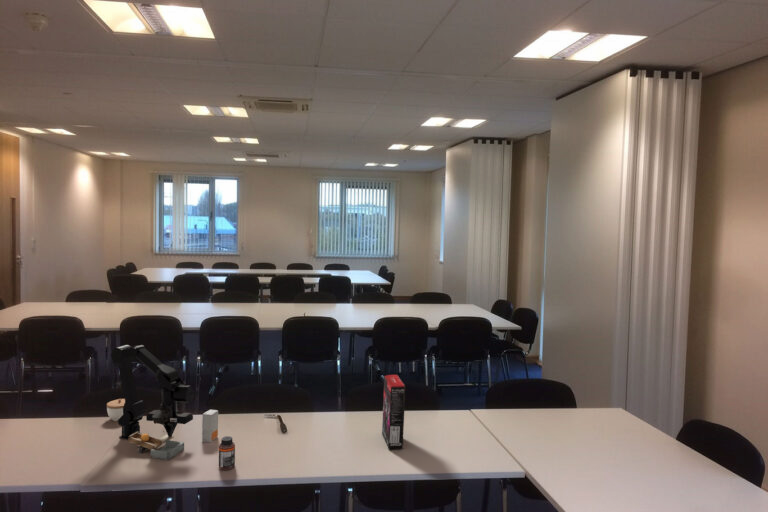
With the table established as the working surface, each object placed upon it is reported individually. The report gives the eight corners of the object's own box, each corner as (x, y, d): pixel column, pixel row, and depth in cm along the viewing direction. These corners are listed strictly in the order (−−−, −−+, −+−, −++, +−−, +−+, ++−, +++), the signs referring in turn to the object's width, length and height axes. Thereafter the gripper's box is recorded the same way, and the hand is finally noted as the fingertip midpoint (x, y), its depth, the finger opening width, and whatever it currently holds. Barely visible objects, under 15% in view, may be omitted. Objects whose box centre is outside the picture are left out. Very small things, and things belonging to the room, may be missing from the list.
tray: (150, 457, 202) (150, 450, 201) (166, 447, 211) (166, 440, 211) (168, 460, 200) (168, 452, 200) (184, 449, 210) (184, 442, 209)
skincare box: (211, 442, 217) (211, 414, 216) (201, 441, 218) (202, 413, 217) (218, 437, 223) (218, 410, 222) (209, 436, 224) (209, 409, 223)
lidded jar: (125, 423, 235) (125, 403, 235) (101, 422, 236) (101, 402, 235) (136, 414, 246) (136, 395, 246) (114, 414, 246) (114, 395, 246)
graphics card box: (381, 434, 231) (382, 374, 229) (396, 433, 232) (397, 374, 230) (388, 450, 214) (390, 386, 212) (404, 449, 215) (406, 385, 214)
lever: (127, 441, 207) (128, 436, 206) (149, 429, 219) (150, 424, 219) (153, 450, 204) (154, 444, 204) (173, 437, 217) (174, 432, 217)
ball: (144, 434, 206) (146, 441, 206) (149, 431, 209) (152, 438, 209) (137, 436, 206) (140, 444, 206) (143, 433, 210) (145, 440, 209)
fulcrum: (138, 453, 205) (138, 447, 205) (148, 447, 211) (148, 441, 211) (141, 453, 205) (141, 447, 205) (151, 447, 211) (151, 441, 211)
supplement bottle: (220, 463, 198) (220, 434, 197) (236, 463, 199) (236, 434, 198) (216, 470, 192) (217, 441, 192) (233, 470, 193) (233, 441, 192)
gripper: (136, 405, 209) (137, 442, 210) (177, 408, 205) (177, 446, 205) (154, 396, 220) (155, 432, 221) (193, 399, 216) (194, 435, 216)
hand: (170, 436), depth 215 cm, fingers closed, pressing on lever
